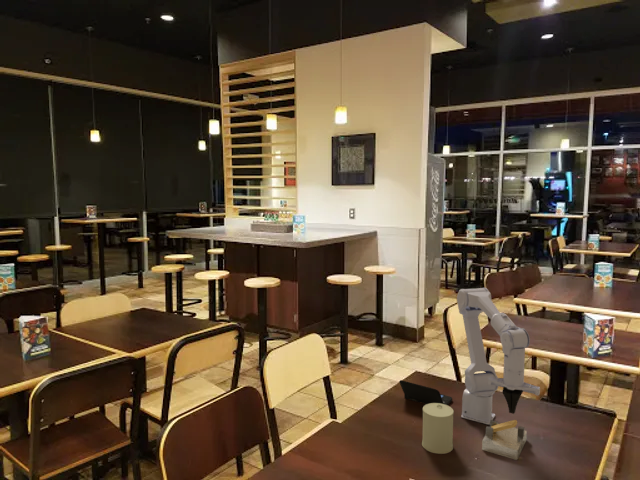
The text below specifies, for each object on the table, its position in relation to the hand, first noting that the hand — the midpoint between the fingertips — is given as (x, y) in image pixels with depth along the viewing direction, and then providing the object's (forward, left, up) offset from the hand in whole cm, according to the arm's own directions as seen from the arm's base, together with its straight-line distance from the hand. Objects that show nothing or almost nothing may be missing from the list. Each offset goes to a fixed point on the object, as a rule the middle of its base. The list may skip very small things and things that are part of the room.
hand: (512, 412), depth 145 cm
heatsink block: (-2, -1, -11) cm, 11 cm away
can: (-19, -13, -11) cm, 25 cm away
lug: (+2, +2, -8) cm, 8 cm away
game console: (-33, +14, -11) cm, 37 cm away
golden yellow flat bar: (-2, -1, -5) cm, 6 cm away
